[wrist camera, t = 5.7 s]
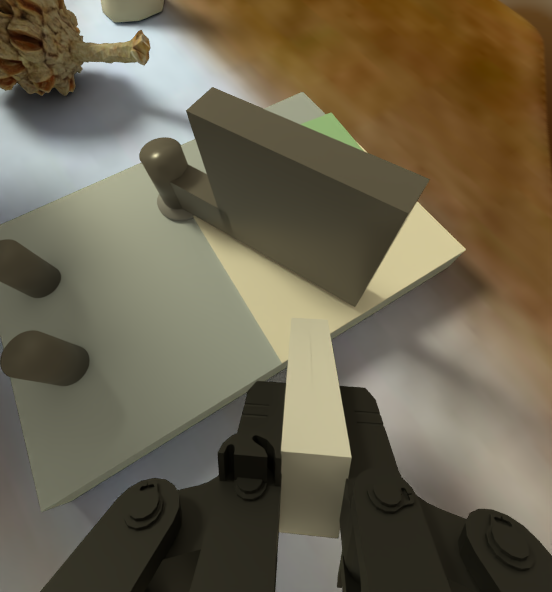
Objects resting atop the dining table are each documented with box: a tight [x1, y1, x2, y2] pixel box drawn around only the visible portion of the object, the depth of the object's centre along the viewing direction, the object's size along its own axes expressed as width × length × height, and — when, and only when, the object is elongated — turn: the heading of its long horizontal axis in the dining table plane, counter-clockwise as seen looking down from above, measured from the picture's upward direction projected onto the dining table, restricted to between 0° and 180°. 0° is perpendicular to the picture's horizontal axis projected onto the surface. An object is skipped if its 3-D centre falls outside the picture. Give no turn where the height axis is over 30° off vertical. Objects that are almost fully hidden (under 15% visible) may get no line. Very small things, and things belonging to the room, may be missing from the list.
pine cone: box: [0, 0, 150, 96], centre depth 25 cm, size 22×10×10 cm, turn 76°
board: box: [0, 92, 466, 512], centre depth 19 cm, size 26×18×5 cm
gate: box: [139, 87, 430, 307], centre depth 15 cm, size 15×2×8 cm, turn 56°
